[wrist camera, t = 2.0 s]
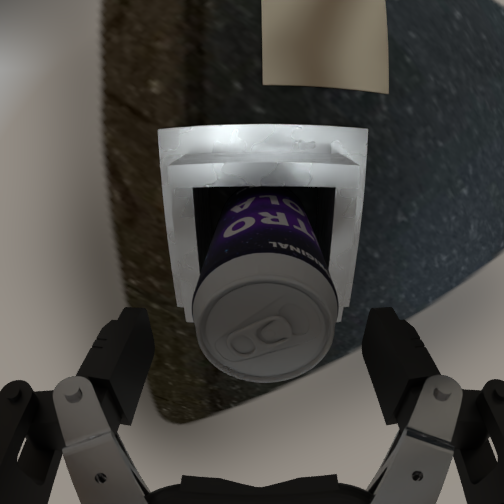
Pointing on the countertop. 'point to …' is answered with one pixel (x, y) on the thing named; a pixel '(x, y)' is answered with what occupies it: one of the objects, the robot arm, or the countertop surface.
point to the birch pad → (326, 44)
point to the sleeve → (262, 174)
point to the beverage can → (264, 289)
